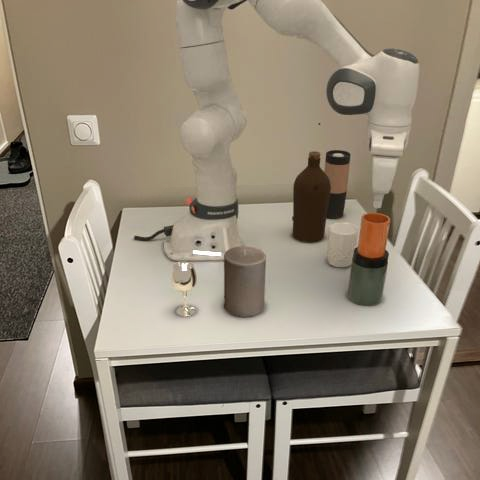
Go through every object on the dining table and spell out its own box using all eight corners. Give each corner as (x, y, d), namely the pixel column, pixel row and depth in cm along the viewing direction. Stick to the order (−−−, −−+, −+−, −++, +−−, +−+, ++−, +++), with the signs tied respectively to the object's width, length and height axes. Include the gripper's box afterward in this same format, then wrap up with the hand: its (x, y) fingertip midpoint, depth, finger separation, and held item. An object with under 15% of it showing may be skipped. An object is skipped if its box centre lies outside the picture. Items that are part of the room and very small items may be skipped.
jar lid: (360, 269, 126) (362, 261, 125) (347, 254, 133) (348, 246, 132) (393, 266, 128) (394, 258, 127) (378, 250, 134) (380, 243, 133)
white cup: (353, 270, 148) (358, 235, 142) (324, 267, 149) (327, 233, 143) (354, 257, 154) (359, 223, 149) (326, 254, 155) (329, 221, 150)
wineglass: (178, 319, 127) (174, 274, 120) (170, 307, 131) (167, 262, 125) (201, 314, 129) (199, 269, 122) (193, 302, 133) (191, 258, 127)
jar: (355, 307, 132) (361, 264, 125) (342, 290, 138) (347, 248, 132) (387, 303, 133) (395, 260, 127) (373, 286, 140) (379, 245, 134)
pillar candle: (215, 307, 131) (214, 250, 123) (242, 292, 138) (242, 236, 129) (247, 322, 126) (248, 263, 118) (273, 305, 132) (275, 248, 124)
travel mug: (317, 210, 182) (323, 150, 171) (340, 210, 183) (347, 149, 172) (323, 220, 176) (329, 157, 165) (346, 219, 177) (354, 156, 166)
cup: (363, 259, 126) (368, 224, 121) (353, 247, 131) (357, 214, 127) (389, 256, 127) (394, 222, 123) (377, 245, 132) (382, 211, 128)
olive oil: (333, 238, 165) (342, 154, 151) (306, 247, 159) (313, 161, 146) (309, 226, 172) (315, 145, 158) (283, 234, 167) (287, 151, 153)
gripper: (372, 122, 124) (363, 182, 132) (371, 148, 108) (361, 214, 115) (401, 124, 123) (390, 184, 131) (404, 150, 106) (392, 217, 114)
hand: (377, 199), depth 123 cm, fingers open, 8 cm apart
